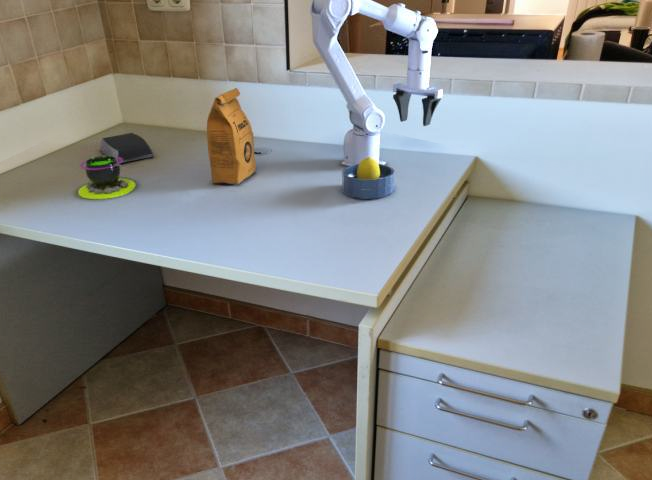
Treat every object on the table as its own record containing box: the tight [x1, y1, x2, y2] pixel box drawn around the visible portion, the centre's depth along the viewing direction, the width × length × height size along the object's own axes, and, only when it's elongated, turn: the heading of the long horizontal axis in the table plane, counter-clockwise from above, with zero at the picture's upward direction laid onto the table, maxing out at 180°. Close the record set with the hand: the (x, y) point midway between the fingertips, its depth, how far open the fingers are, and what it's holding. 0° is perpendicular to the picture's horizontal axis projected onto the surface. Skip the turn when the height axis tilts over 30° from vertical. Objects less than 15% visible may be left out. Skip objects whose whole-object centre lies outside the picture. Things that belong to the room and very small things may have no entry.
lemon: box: [357, 157, 380, 179], centre depth 145 cm, size 6×6×8 cm
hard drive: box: [99, 132, 155, 164], centre depth 184 cm, size 13×19×4 cm
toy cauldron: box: [77, 144, 137, 200], centre depth 156 cm, size 15×15×11 cm
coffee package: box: [206, 87, 257, 185], centre depth 154 cm, size 10×12×22 cm
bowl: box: [341, 164, 395, 200], centre depth 146 cm, size 12×12×5 cm
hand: (414, 122), depth 162 cm, fingers open, 7 cm apart
